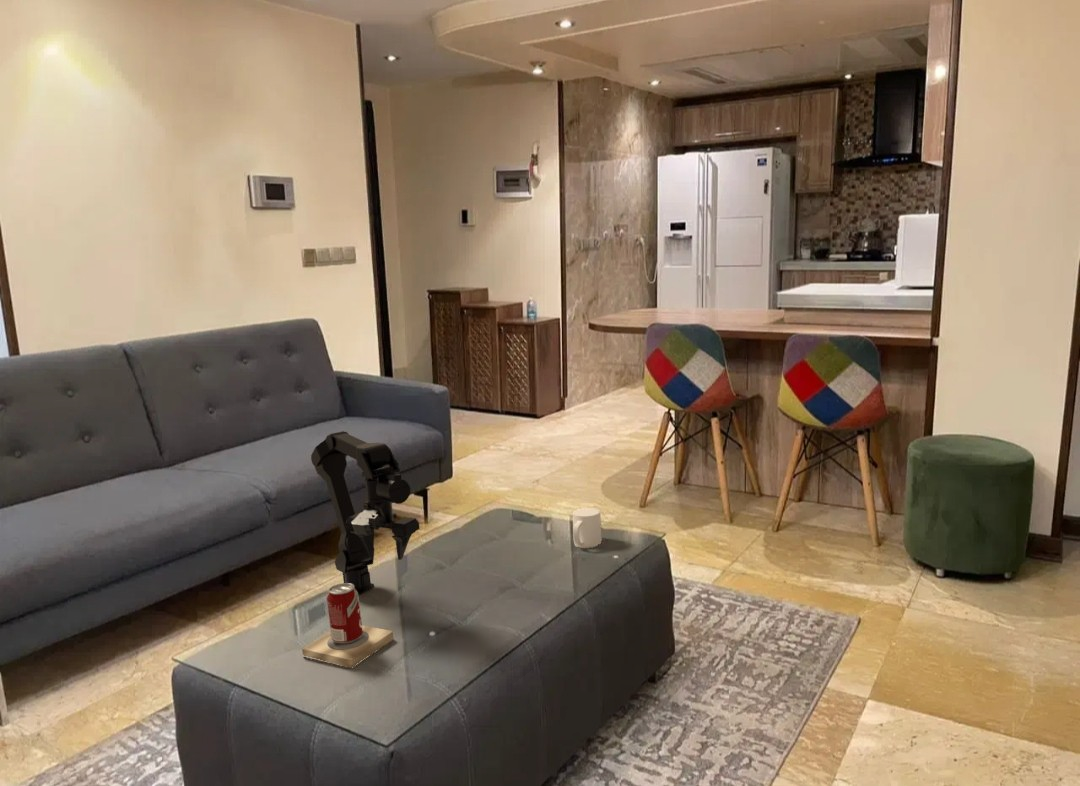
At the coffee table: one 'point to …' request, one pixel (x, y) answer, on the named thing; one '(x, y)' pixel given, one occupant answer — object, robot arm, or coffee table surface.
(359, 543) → the robot arm
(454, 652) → the coffee table surface
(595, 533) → the mug
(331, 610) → the soda can
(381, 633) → the base slab
